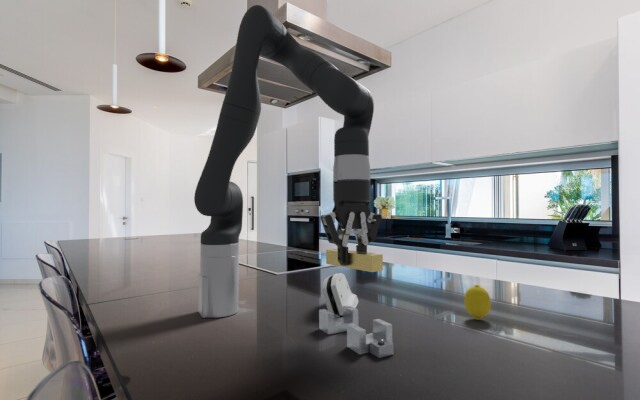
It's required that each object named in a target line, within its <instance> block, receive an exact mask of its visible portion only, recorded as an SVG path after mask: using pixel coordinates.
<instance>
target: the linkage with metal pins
mask: <svg viewBox="0 0 640 400" xmlns="http://www.w3.org/2000/svg"><path fill="white" fill-rule="evenodd" d="M318 321H319V323H318V326H319V327H318V329H319V330H320V331H322V332H323V333H325V334H327V335H333V334H339V333H344V332H346V347H347V348H349V349H350V350H352V352H353V351H354V352H355V353H357V355H364V354H368V353H369V354H371V355H373V356H374V357H377V358H378V359H382V358H386V357H389V356H393V355H394V343H393V324H392V323H389V322H387V321H386V320H383V319H381V318H376V319H372V332H370V333H366V332H367V331H366V330H367V329H364V328H363V327H360V326H359V309H358V308H357V307H356V308H353V307H351V306H349V305H347V306H343V315H342V317H340V315H338V314H337V315H336V314H334V313H332V312H330V311H328V309H327V308H322V309H319V310H318Z"/></svg>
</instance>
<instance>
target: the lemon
mask: <svg viewBox="0 0 640 400" xmlns="http://www.w3.org/2000/svg"><path fill="white" fill-rule="evenodd" d="M464 307H465V309H466V312H467V313H468V314H469V316H470V315H471V316H472V317H474V319H475V320H477V321H480V320H481V319H483V318H485V317H486V316H488V314H489V313H490V311H491V307H492V301H491V297H490V295H489V292H488V291H487V290H486V289H485V288H484V287H482V286H480V285H479V284H474V286H471V287H469V288H468V289H467V290H466V292H465V294H464Z"/></svg>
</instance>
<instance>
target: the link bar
mask: <svg viewBox="0 0 640 400" xmlns="http://www.w3.org/2000/svg"><path fill="white" fill-rule="evenodd" d="M325 253H326V255H325V258H326V259H325V264H326V265H330V266H335V267H341V268H347V269H352V270H358V271H363V272H368V273H369V272H370V273H375V272H381V271H383V270H384V268H383V267H384V266H383V265H384V264H383V262H384V261H383V260H384V258H383V257H384V256H383V254H382V253H376V252H375V253H374V252H373V253H372V252H368V251H367V252H359V251H356V250H349V249H348V266H343V265H340V262H338V248H331V249H329V248H328V249H326V250H325Z"/></svg>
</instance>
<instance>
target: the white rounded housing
mask: <svg viewBox="0 0 640 400" xmlns="http://www.w3.org/2000/svg"><path fill="white" fill-rule="evenodd" d="M321 287H322V288H321V293H322V295H323V299H324V303H325V306H326V310H328V311H330V312H332V313H334V314H336V315H338V316H343V306H347V305H349V306H351V307H353V308H356V309H357V306H358V304H359V299H358V295H356V294H355V293H353V292H352V290H351V288H350V285H349V283H348V281H347V277H346V276H345V274H344V273H342V272H339V273H334V274H333V275H332V274H331V275H329V276H327V277H326V278H324V280H323V282H322V286H321Z"/></svg>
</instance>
